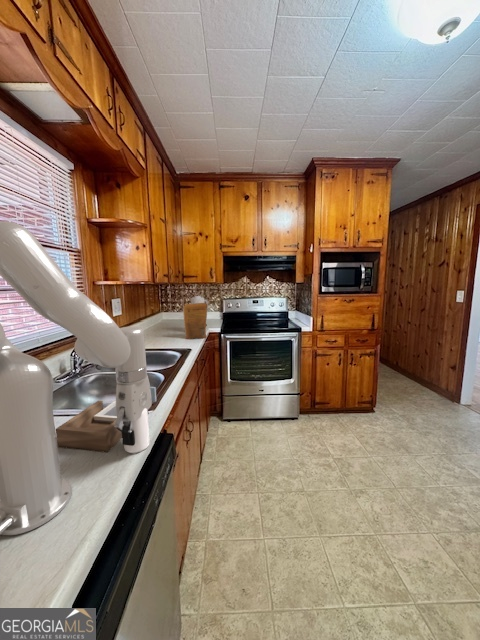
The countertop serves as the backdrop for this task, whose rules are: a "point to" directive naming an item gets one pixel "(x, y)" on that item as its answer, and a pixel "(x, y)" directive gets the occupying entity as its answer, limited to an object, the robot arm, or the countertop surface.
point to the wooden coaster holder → (88, 432)
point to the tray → (110, 411)
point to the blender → (198, 301)
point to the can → (139, 434)
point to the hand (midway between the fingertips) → (136, 436)
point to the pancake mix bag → (195, 320)
